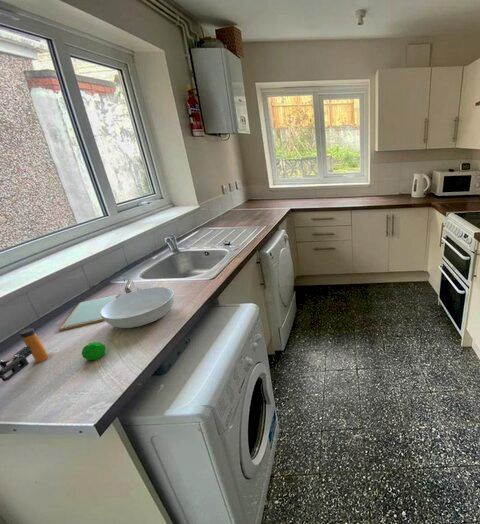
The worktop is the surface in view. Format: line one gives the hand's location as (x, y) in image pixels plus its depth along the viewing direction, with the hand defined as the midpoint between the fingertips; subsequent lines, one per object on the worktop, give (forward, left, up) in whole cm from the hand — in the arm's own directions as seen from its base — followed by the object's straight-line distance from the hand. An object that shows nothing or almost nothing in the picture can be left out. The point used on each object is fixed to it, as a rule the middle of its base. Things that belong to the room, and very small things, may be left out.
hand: (9, 351), depth 73 cm
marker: (+2, +6, -8) cm, 10 cm away
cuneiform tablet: (+18, +41, -8) cm, 45 cm away
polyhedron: (+16, -1, -8) cm, 18 cm away
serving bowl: (+25, +17, -8) cm, 31 cm away
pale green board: (+7, +32, -8) cm, 34 cm away
